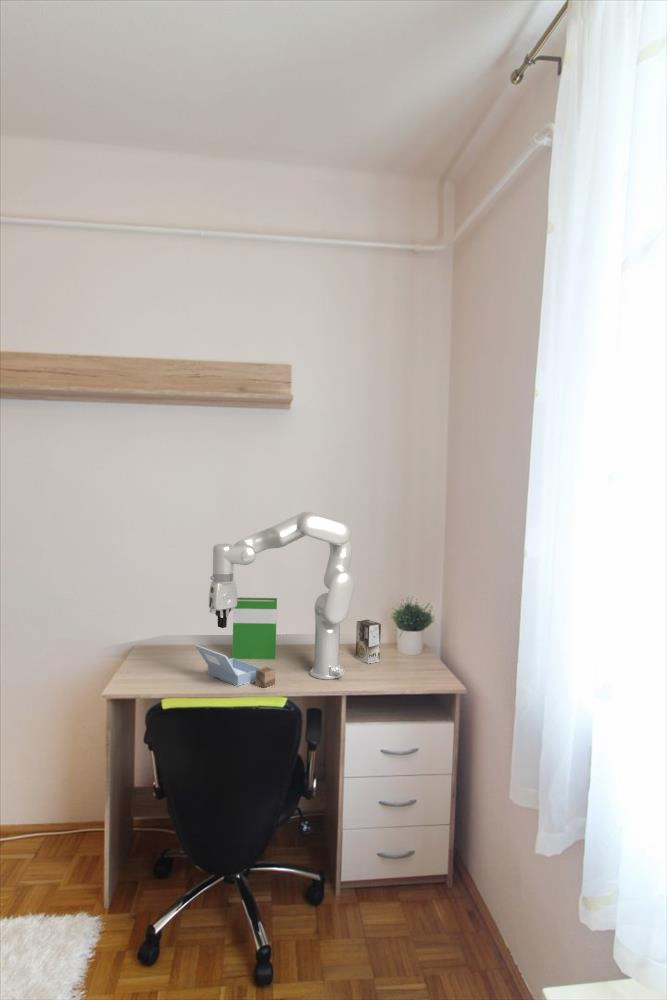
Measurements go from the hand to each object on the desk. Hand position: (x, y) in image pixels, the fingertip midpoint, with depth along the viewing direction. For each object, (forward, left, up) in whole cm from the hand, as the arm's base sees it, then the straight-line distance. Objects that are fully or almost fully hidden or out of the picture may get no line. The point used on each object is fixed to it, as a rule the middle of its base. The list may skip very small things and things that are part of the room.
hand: (222, 627), depth 246 cm
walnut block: (-14, -9, -21) cm, 27 cm away
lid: (+1, +1, -12) cm, 12 cm away
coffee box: (-19, -61, -21) cm, 68 cm away
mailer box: (+1, -7, -21) cm, 22 cm away
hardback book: (+16, -29, -21) cm, 39 cm away
